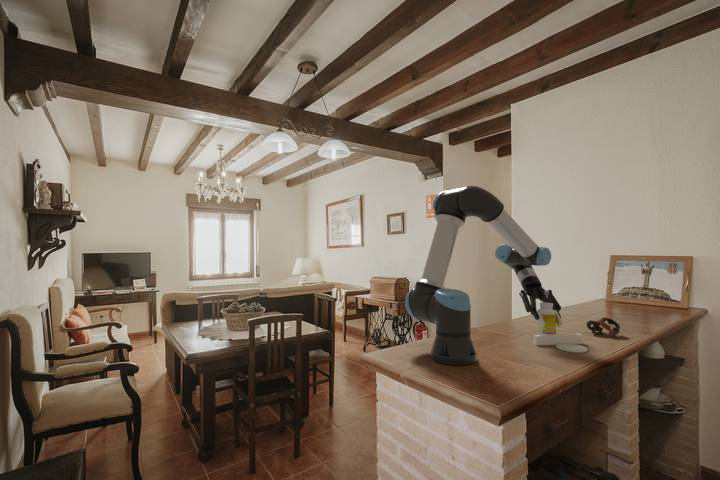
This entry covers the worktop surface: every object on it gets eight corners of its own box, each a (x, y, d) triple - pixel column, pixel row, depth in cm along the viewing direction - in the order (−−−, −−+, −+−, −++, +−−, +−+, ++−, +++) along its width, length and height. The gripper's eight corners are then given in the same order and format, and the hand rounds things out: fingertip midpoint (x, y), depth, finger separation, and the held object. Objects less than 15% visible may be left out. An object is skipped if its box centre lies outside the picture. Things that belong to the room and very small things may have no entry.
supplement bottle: (560, 336, 143) (559, 304, 143) (546, 337, 141) (545, 304, 142) (547, 332, 149) (547, 301, 150) (534, 333, 148) (533, 302, 148)
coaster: (567, 353, 128) (567, 351, 128) (550, 345, 138) (550, 343, 138) (594, 352, 129) (594, 350, 129) (575, 344, 139) (575, 342, 139)
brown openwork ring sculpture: (606, 332, 158) (616, 318, 155) (616, 347, 150) (626, 332, 146) (579, 325, 159) (588, 311, 155) (587, 340, 151) (597, 325, 147)
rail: (535, 345, 138) (535, 336, 138) (533, 344, 140) (533, 335, 140) (582, 343, 140) (582, 334, 140) (579, 342, 141) (579, 333, 141)
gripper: (547, 285, 162) (571, 330, 145) (505, 286, 160) (524, 331, 144) (554, 275, 157) (580, 320, 140) (510, 275, 155) (532, 320, 138)
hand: (552, 325), depth 142 cm, fingers closed on supplement bottle, 7 cm apart
